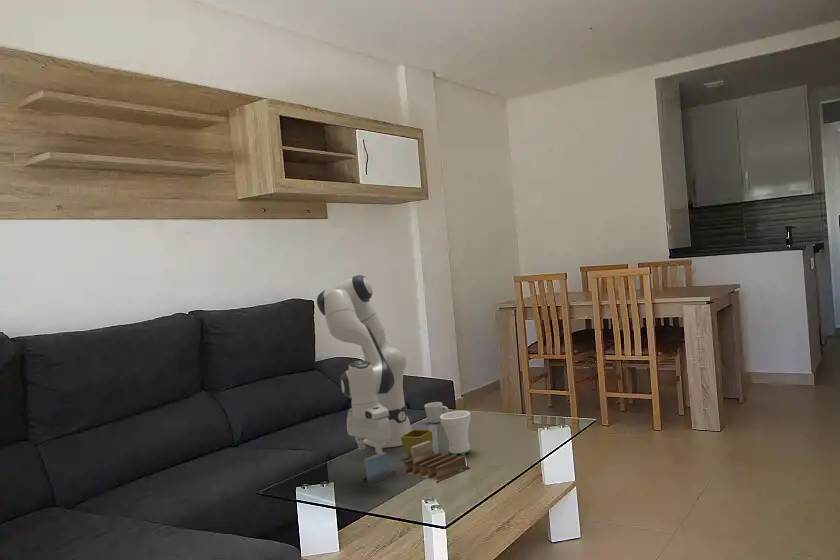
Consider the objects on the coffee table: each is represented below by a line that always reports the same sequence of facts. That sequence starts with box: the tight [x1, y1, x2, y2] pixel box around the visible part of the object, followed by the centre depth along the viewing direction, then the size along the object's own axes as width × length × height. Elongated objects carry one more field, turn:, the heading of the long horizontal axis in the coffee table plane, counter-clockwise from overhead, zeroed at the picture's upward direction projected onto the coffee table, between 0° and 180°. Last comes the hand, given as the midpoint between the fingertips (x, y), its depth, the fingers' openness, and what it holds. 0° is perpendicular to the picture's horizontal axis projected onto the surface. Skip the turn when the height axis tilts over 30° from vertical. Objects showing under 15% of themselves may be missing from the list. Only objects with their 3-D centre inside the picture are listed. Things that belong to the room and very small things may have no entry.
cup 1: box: [424, 401, 450, 424], centre depth 296 cm, size 11×8×8 cm
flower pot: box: [401, 429, 433, 459], centre depth 246 cm, size 9×9×9 cm
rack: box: [402, 440, 470, 484], centre depth 227 cm, size 17×15×9 cm
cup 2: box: [440, 410, 472, 456], centre depth 245 cm, size 11×11×14 cm
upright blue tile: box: [363, 451, 390, 483], centre depth 224 cm, size 2×8×8 cm, turn 133°
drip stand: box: [359, 469, 398, 488], centre depth 224 cm, size 7×11×3 cm, turn 133°
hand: (370, 451), depth 224 cm, fingers open, 8 cm apart
